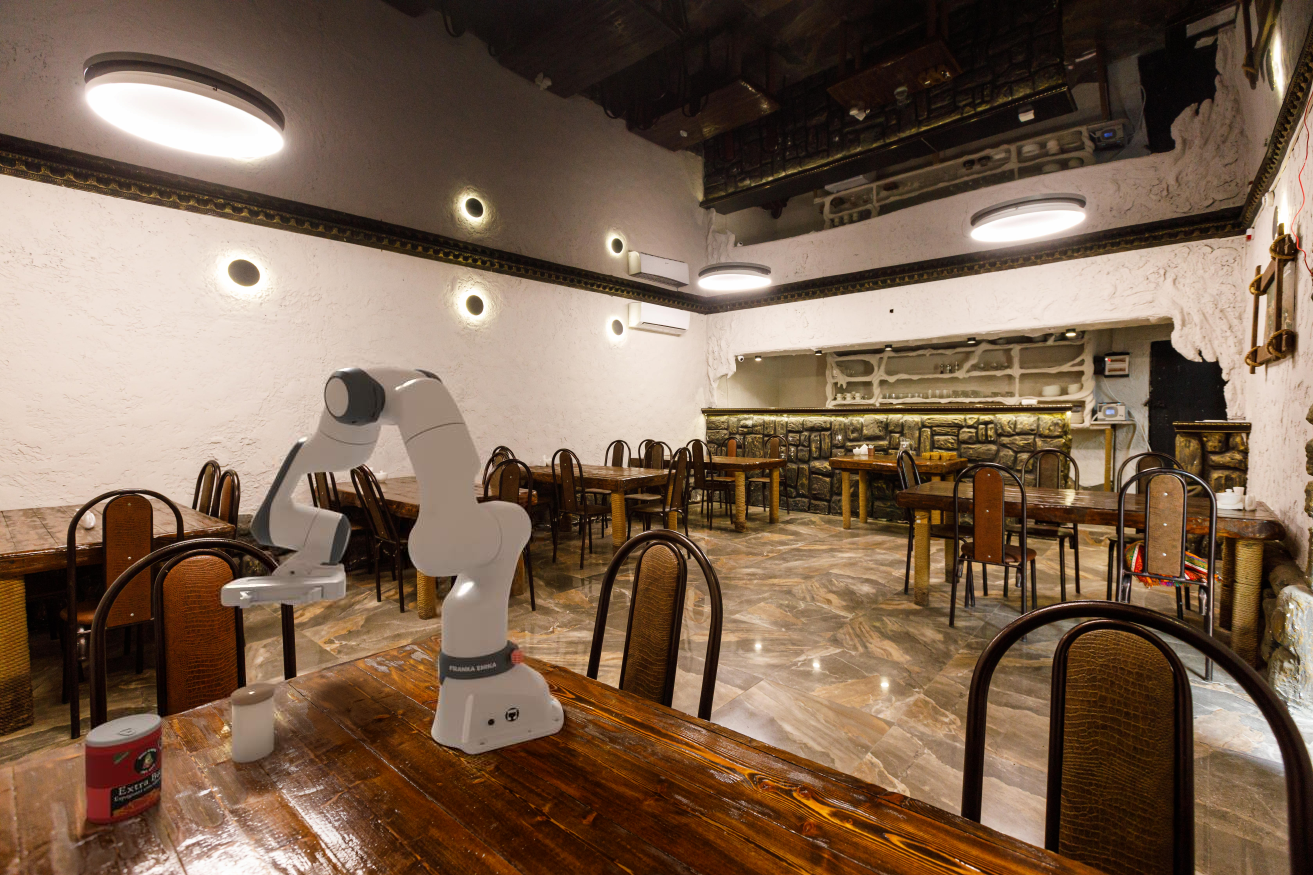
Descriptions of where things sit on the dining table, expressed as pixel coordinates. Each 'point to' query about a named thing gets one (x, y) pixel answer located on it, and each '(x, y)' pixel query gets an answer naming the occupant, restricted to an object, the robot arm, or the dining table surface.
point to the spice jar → (252, 722)
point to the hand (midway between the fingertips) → (275, 601)
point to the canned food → (123, 767)
